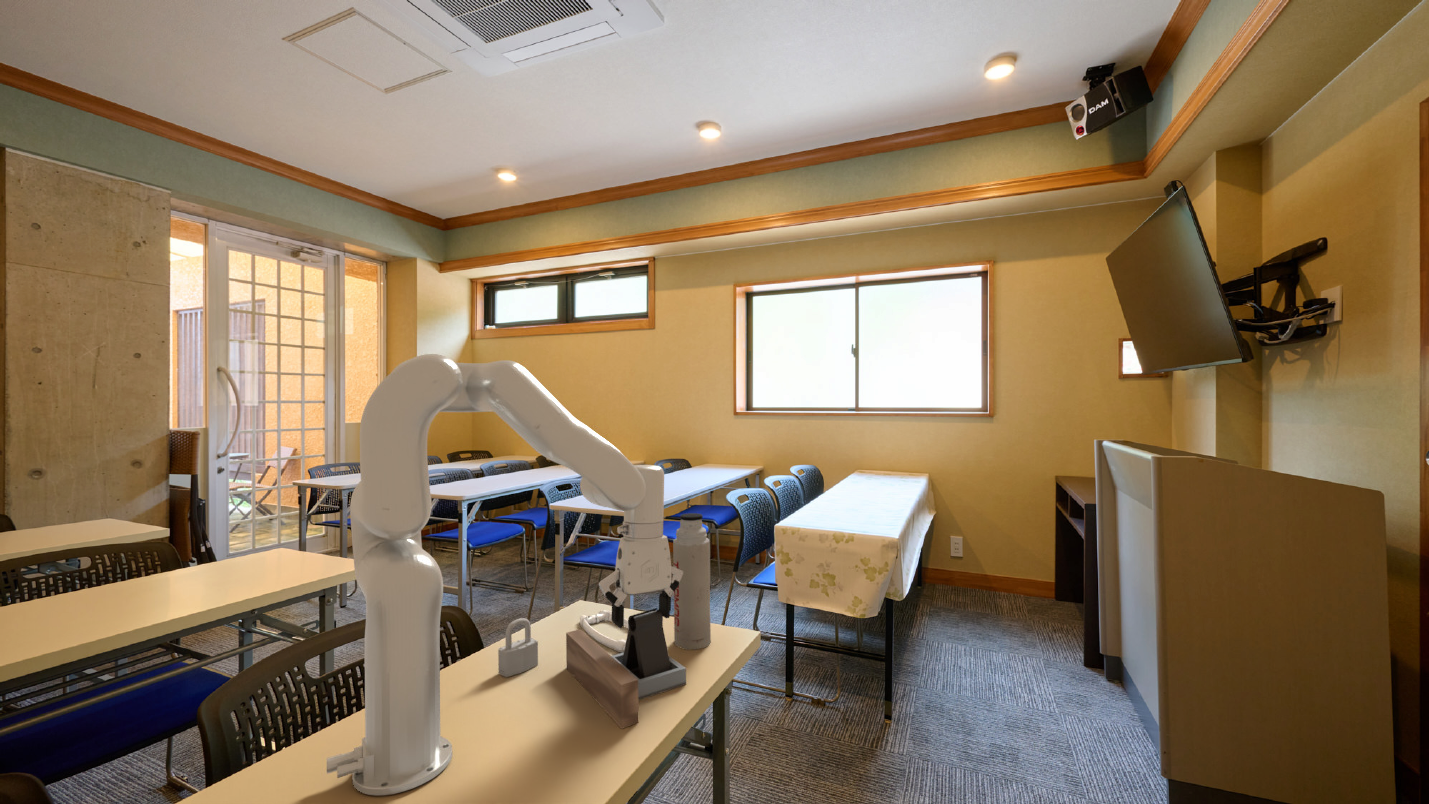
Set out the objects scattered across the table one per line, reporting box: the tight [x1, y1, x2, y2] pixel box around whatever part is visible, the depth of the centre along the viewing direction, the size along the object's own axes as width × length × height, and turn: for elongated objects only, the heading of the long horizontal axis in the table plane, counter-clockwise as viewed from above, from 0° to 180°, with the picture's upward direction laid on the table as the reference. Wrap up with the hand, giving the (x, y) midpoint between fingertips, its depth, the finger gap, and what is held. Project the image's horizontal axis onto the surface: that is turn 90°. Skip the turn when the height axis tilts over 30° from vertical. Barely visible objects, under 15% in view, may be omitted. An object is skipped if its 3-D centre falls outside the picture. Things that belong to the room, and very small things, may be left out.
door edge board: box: [565, 628, 639, 729], centre depth 103 cm, size 3×26×7 cm, turn 34°
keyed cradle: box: [611, 652, 687, 701], centre depth 108 cm, size 10×13×3 cm
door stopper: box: [622, 607, 671, 679], centre depth 108 cm, size 9×6×12 cm, turn 41°
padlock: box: [497, 617, 539, 678], centre depth 112 cm, size 7×4×10 cm, turn 140°
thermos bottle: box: [672, 512, 712, 650], centre depth 125 cm, size 8×8×28 cm
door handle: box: [579, 609, 628, 653], centre depth 129 cm, size 3×10×25 cm
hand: (641, 620), depth 108 cm, fingers open, 9 cm apart
